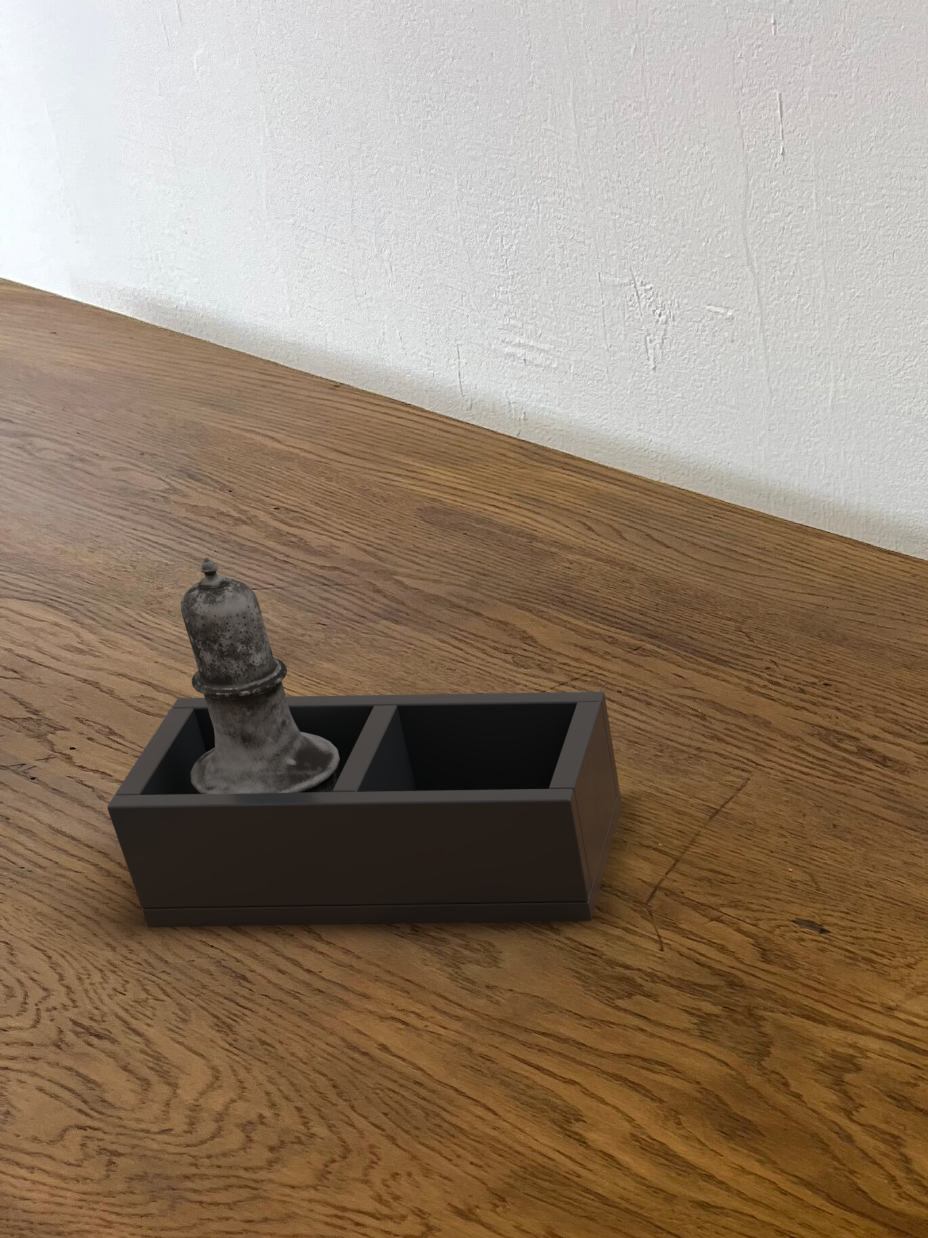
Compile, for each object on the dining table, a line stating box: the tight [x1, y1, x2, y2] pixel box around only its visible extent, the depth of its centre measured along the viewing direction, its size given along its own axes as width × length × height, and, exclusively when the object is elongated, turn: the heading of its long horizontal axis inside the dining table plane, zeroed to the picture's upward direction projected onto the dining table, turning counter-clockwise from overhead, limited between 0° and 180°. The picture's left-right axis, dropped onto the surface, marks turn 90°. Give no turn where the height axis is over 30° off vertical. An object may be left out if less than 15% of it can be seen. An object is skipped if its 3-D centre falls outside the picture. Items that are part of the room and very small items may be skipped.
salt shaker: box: [180, 557, 340, 794], centre depth 82 cm, size 6×6×12 cm
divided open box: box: [106, 691, 624, 928], centre depth 85 cm, size 10×18×6 cm, turn 90°
